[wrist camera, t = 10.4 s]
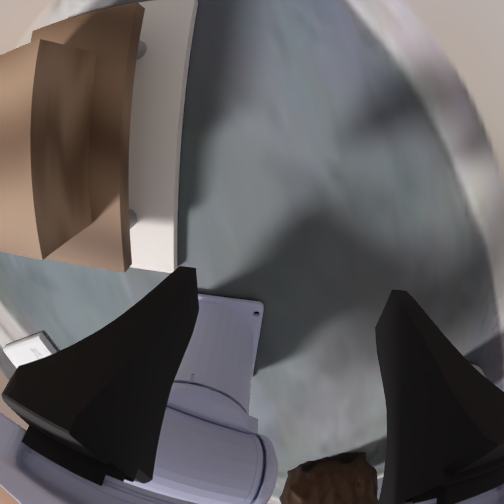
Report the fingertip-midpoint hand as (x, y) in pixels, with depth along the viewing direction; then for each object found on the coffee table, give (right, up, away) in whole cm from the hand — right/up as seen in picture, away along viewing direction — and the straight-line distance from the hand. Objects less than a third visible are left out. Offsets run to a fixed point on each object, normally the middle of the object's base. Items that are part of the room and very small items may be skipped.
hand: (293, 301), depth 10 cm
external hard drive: (-30, -13, +20) cm, 39 cm away
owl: (+11, -33, +27) cm, 44 cm away
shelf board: (-12, +9, +4) cm, 16 cm away
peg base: (-12, +10, +8) cm, 18 cm away
